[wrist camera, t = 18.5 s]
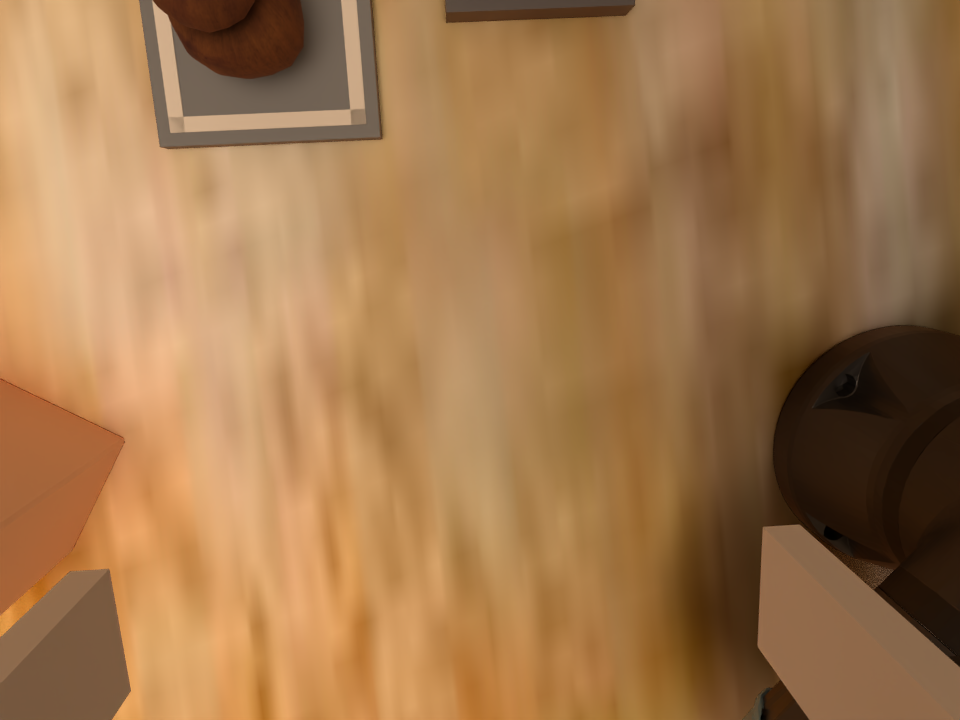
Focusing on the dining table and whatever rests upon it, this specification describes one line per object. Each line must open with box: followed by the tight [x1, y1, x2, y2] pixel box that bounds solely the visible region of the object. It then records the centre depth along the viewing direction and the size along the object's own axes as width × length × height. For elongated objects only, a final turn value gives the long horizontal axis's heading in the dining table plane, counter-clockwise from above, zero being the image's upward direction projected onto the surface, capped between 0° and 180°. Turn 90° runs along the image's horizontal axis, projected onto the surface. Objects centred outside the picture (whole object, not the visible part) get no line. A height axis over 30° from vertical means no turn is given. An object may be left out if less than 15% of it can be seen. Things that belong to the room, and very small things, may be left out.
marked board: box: [139, 0, 382, 149], centre depth 37 cm, size 12×12×1 cm
